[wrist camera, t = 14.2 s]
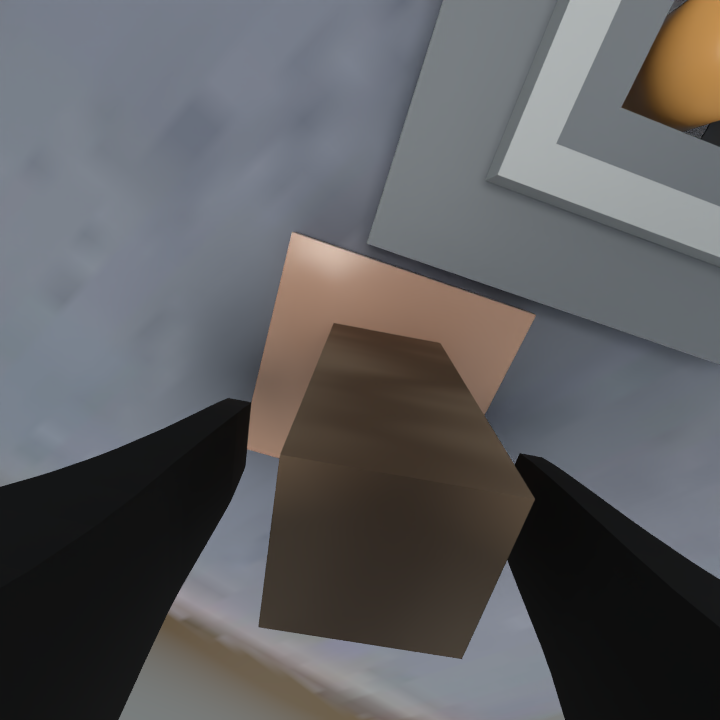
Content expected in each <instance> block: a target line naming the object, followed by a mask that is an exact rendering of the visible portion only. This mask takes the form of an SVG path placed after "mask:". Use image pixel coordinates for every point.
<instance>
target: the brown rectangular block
mask: <svg viewBox="0 0 720 720" xmlns="http://www.w3.org/2000/svg"><path fill="white" fill-rule="evenodd" d="M534 500H535V498H534V497H533V495H532V493H531V492H530V490H529V488H528V487H527V485H526V483H525V482H524V480H523V478H522V477H521V475H520V473H519V472H518V470H517V469H516V467H515V465H514V464H513V462H512V460H511V459H510V457H509V455H508V454H507V452H506V450H505V449H504V447H503V445H502V444H501V442H500V441H499V439H498V437H497V436H496V434H495V432H494V431H493V429H492V427H491V426H490V424H489V422H488V421H487V419H486V417H485V416H484V414H483V413H482V411H481V409H480V408H479V406H478V404H477V403H476V401H475V399H474V398H473V396H472V394H471V393H470V391H469V389H468V388H467V386H466V384H465V383H464V381H463V380H462V378H461V376H460V375H459V373H458V371H457V370H456V368H455V366H454V365H453V363H452V361H451V360H450V358H449V356H448V355H447V353H446V352H445V350H444V348H443V347H442V345H441V343H438V342H433V341H427V340H422V339H417V338H411V337H406V336H401V335H395V334H390V333H385V332H379V331H374V330H369V329H364V328H358V327H353V326H348V325H342V324H337V323H333V326H332V328H331V331H330V333H329V336H328V338H327V341H326V343H325V346H324V348H323V350H322V353H321V355H320V358H319V360H318V363H317V365H316V368H315V370H314V372H313V375H312V377H311V380H310V382H309V385H308V387H307V390H306V392H305V395H304V397H303V399H302V402H301V404H300V407H299V409H298V412H297V414H296V417H295V419H294V421H293V424H292V426H291V429H290V431H289V434H288V436H287V439H286V441H285V444H284V446H283V448H282V451H281V453H280V458H279V466H278V474H277V483H276V491H275V499H274V507H273V515H272V523H271V531H270V539H269V547H268V555H267V563H266V571H265V579H264V587H263V595H262V603H261V611H260V619H259V627H261V628H267V629H274V630H280V631H286V632H293V633H299V634H306V635H312V636H318V637H325V638H331V639H338V640H344V641H350V642H357V643H363V644H370V645H376V646H382V647H389V648H395V649H402V650H408V651H414V652H421V653H427V654H433V655H440V656H446V657H453V658H459V659H462V657H463V655H464V653H465V651H466V649H467V647H468V644H469V642H470V640H471V638H472V636H473V633H474V631H475V629H476V627H477V625H478V623H479V620H480V618H481V616H482V614H483V612H484V609H485V607H486V605H487V603H488V601H489V598H490V596H491V594H492V592H493V590H494V588H495V585H496V583H497V581H498V579H499V577H500V574H501V572H502V570H503V568H504V566H505V564H506V561H507V559H508V557H509V555H510V553H511V550H512V548H513V546H514V544H515V542H516V539H517V537H518V535H519V533H520V531H521V529H522V526H523V524H524V522H525V520H526V518H527V515H528V513H529V511H530V509H531V507H532V505H533V502H534Z"/></svg>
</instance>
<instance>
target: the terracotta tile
mask: <svg viewBox="0 0 720 720" xmlns="http://www.w3.org/2000/svg"><path fill="white" fill-rule="evenodd" d="M535 316H536V315H535V314H533V313H531V312H529V311H526V310H523V309H520V308H517V307H514V306H511V305H509V304H506V303H503V302H500V301H497V300H494V299H491V298H488V297H485V296H482V295H479V294H476V293H473V292H470V291H467V290H464V289H462V288H459V287H456V286H453V285H450V284H447V283H444V282H441V281H438V280H435V279H432V278H429V277H426V276H423V275H420V274H417V273H414V272H412V271H409V270H406V269H403V268H400V267H397V266H394V265H391V264H388V263H385V262H382V261H379V260H376V259H373V258H370V257H367V256H365V255H362V254H359V253H356V252H353V251H350V250H347V249H344V248H341V247H338V246H335V245H332V244H329V243H326V242H323V241H320V240H318V239H315V238H312V237H309V236H306V235H303V234H300V233H297V232H292V235H291V239H290V243H289V247H288V251H287V256H286V260H285V264H284V268H283V272H282V277H281V281H280V285H279V289H278V293H277V297H276V302H275V306H274V310H273V314H272V318H271V323H270V327H269V331H268V335H267V339H266V344H265V348H264V352H263V356H262V360H261V364H260V369H259V373H258V377H257V381H256V385H255V390H254V394H253V398H252V402H251V412H250V423H249V433H248V444H247V449H248V450H252V451H255V452H259V453H262V454H266V455H269V456H273V457H276V458H280V453H281V451H282V448H283V446H284V444H285V441H286V439H287V436H288V434H289V431H290V429H291V426H292V424H293V421H294V419H295V417H296V414H297V412H298V409H299V407H300V404H301V402H302V399H303V397H304V395H305V392H306V390H307V387H308V385H309V382H310V380H311V377H312V375H313V372H314V370H315V368H316V365H317V363H318V360H319V358H320V355H321V353H322V350H323V348H324V346H325V343H326V341H327V338H328V336H329V333H330V331H331V328H332V326H333V323H337V324H342V325H348V326H353V327H358V328H364V329H369V330H374V331H379V332H385V333H390V334H395V335H401V336H406V337H411V338H417V339H422V340H427V341H433V342H438V343H441V345H442V347H443V348H444V350H445V352H446V353H447V355H448V356H449V358H450V360H451V361H452V363H453V365H454V366H455V368H456V370H457V371H458V373H459V375H460V376H461V378H462V380H463V381H464V383H465V384H466V386H467V388H468V389H469V391H470V393H471V394H472V396H473V398H474V399H475V401H476V403H477V404H478V406H479V408H480V409H481V411H482V413H483V414H484V415H485V413H486V411H487V409H488V408H489V406H490V404H491V402H492V400H493V398H494V396H495V394H496V392H497V390H498V388H499V386H500V384H501V382H502V380H503V378H504V376H505V375H506V373H507V371H508V369H509V367H510V365H511V363H512V361H513V359H514V357H515V355H516V353H517V351H518V349H519V347H520V345H521V344H522V342H523V340H524V338H525V336H526V334H527V332H528V330H529V328H530V326H531V324H532V322H533V320H534V318H535Z"/></svg>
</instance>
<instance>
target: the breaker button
mask: <svg viewBox="0 0 720 720" xmlns="http://www.w3.org/2000/svg"><path fill="white" fill-rule="evenodd" d="M621 108H624V109H626V110H629V111H631V112H634V113H636V114H639V115H641V116H644V117H646V118H649V119H651V120H654V121H656V122H659V123H661V124H664V125H666V126H669V127H671V128H673V129H676V130H678V131H681V132H684V131H687V130H691V129H694V128H697V127H700V126H703V125H706V124H710V123H713V122H716V121H719V120H720V0H688V1H686V2H685V3H684V4H682V5H681V6H680V7H678V8H677V9H675V10H674V11H673V12H671V13H670V14H669V15H667V16H666V18H665V20H664V22H663V24H662V26H661V28H660V30H659V32H658V34H657V36H656V38H655V40H654V42H653V44H652V46H651V49H650V51H649V53H648V55H647V57H646V59H645V61H644V63H643V65H642V67H641V69H640V71H639V73H638V75H637V77H636V79H635V81H634V83H633V85H632V87H631V89H630V91H629V93H628V95H627V97H626V99H625V101H624V103H623V105H622V107H621Z"/></svg>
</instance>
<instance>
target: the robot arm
mask: <svg viewBox="0 0 720 720" xmlns="http://www.w3.org/2000/svg"><path fill="white" fill-rule="evenodd" d="M250 412H251V402H246V401H241V400H235V399H230V398H227V399H225V400H222V401H220V402H218V403H216V404H214V405H211V406H209V407H207V408H205V409H203V410H201V411H199V412H197V413H195V414H193V415H191V416H189V417H187V418H185V419H183V420H180V421H178V422H176V423H174V424H172V425H170V426H168V427H166V428H164V429H161V430H159V431H157V432H154V433H152V434H150V435H147V436H145V437H143V438H140V439H138V440H136V441H133V442H131V443H129V444H126V445H124V446H122V447H119V448H117V449H114V450H112V451H109V452H107V453H104V454H101V455H99V456H96V457H93V458H91V459H88V460H85V461H82V462H79V463H76V464H73V465H70V466H67V467H65V468H62V469H59V470H56V471H53V472H50V473H46V474H43V475H40V476H37V477H33V478H30V479H26V480H23V481H19V482H16V483H12V484H9V485H5V486H2V487H0V720H118V719H119V717H120V715H121V713H122V711H123V708H124V706H125V704H126V702H127V700H128V697H129V695H130V693H131V691H132V689H133V686H134V684H135V682H136V680H137V678H138V675H139V673H140V671H141V669H142V667H143V664H144V662H145V660H146V658H147V656H148V654H149V652H150V649H151V647H152V645H153V643H154V641H155V639H156V637H157V635H158V632H159V630H160V628H161V626H162V624H163V622H164V620H165V618H166V615H167V613H168V611H169V609H170V607H171V606H172V604H173V602H174V600H175V598H176V596H177V594H178V592H179V591H180V589H181V587H182V585H183V583H184V582H185V580H186V578H187V576H188V575H189V573H190V571H191V570H192V568H193V566H194V564H195V563H196V561H197V559H198V558H199V556H200V554H201V552H202V551H203V549H204V547H205V545H206V544H207V542H208V540H209V539H210V537H211V535H212V533H213V532H214V530H215V528H216V526H217V525H218V523H219V521H220V519H221V518H222V516H223V514H224V512H225V511H226V509H227V507H228V505H229V504H230V502H231V499H232V497H233V495H234V493H235V490H236V488H237V486H238V483H239V481H240V478H241V476H242V474H243V471H244V469H245V465H246V454H247V444H248V433H249V423H250ZM515 467H516V469H517V470H518V472H519V473H520V475H521V477H522V478H523V480H524V482H525V483H526V485H527V487H528V488H529V490H530V492H531V493H532V495H533V497H534V498H535V500H534V502H533V505H532V507H531V509H530V511H529V513H528V515H527V518H526V520H525V522H524V524H523V526H522V529H521V531H520V533H519V535H518V537H517V539H516V542H515V544H514V546H513V548H512V550H511V553H510V555H509V557H508V559H507V560H508V563H509V566H510V568H511V571H512V573H513V576H514V579H515V581H516V584H517V586H518V589H519V591H520V594H521V596H522V599H523V601H524V604H525V606H526V609H527V612H528V614H529V617H530V619H531V622H532V624H533V627H534V629H535V632H536V634H537V637H538V639H539V642H540V644H541V647H542V649H543V652H544V655H545V658H546V661H547V664H548V666H549V669H550V672H551V675H552V678H553V681H554V685H555V688H556V691H557V695H558V698H559V701H560V705H561V708H562V711H563V715H564V718H565V720H720V579H718V578H716V577H715V576H713V575H712V574H710V573H708V572H707V571H705V570H704V569H702V568H701V567H699V566H698V565H696V564H694V563H693V562H691V561H690V560H688V559H687V558H685V557H684V556H682V555H681V554H679V553H678V552H676V551H675V550H673V549H672V548H671V547H669V546H668V545H666V544H665V543H663V542H662V541H660V540H659V539H657V538H656V537H654V536H653V535H651V534H650V533H649V532H647V531H646V530H644V529H643V528H642V527H640V526H639V525H637V524H636V523H634V522H633V521H632V520H630V519H629V518H627V517H626V516H625V515H623V514H622V513H621V512H619V511H618V510H616V509H615V508H614V507H612V506H611V505H610V504H608V503H607V502H605V501H604V500H603V499H601V498H600V497H599V496H597V495H596V494H595V493H593V492H592V491H590V490H589V489H588V488H586V487H585V486H584V485H582V484H581V483H580V482H578V481H577V480H575V479H574V478H573V477H571V476H570V475H568V474H567V473H565V472H564V471H563V470H561V469H560V468H558V467H557V466H555V465H554V464H552V463H550V462H549V461H547V460H545V459H544V458H542V457H537V456H531V455H526V454H521V453H520V454H519V456H518V458H517V461H516V463H515Z"/></svg>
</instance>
